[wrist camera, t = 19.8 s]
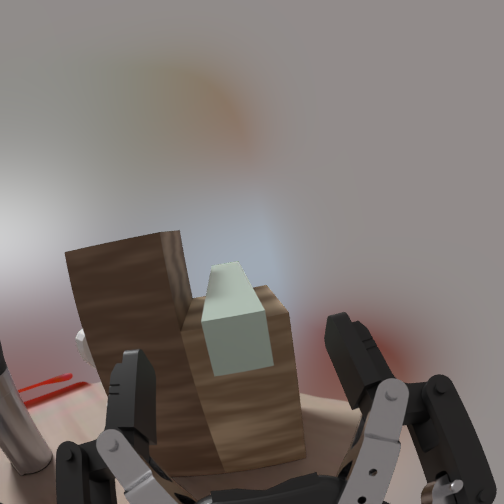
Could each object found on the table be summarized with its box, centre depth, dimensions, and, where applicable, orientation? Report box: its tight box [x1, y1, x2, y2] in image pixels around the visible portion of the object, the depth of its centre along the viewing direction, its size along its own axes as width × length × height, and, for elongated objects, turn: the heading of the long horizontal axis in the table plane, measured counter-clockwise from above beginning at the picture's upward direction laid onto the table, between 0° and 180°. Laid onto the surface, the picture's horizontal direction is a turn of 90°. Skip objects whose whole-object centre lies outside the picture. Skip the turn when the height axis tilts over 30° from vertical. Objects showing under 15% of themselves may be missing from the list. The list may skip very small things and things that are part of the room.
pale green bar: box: [201, 261, 274, 377], centre depth 30 cm, size 26×4×4 cm, turn 6°
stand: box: [65, 230, 306, 477], centre depth 35 cm, size 14×22×32 cm, turn 96°
